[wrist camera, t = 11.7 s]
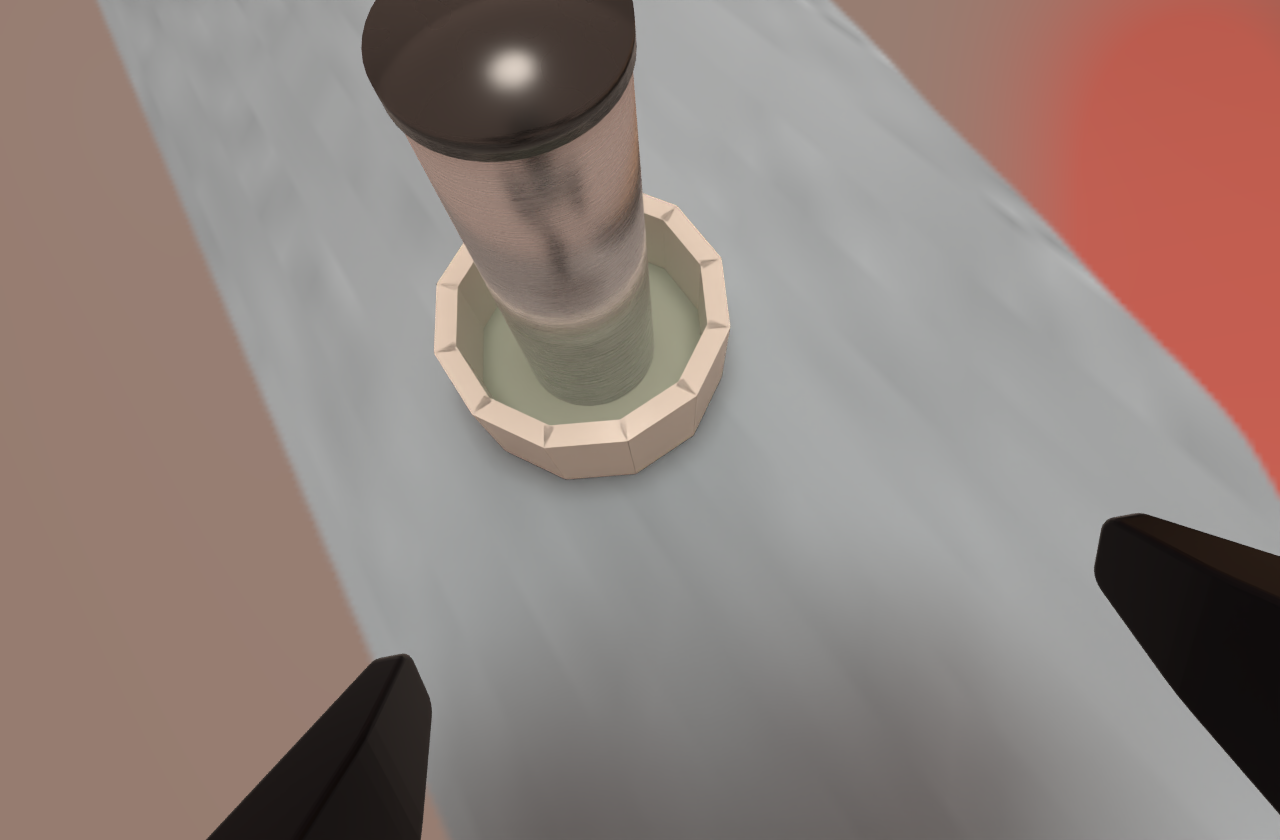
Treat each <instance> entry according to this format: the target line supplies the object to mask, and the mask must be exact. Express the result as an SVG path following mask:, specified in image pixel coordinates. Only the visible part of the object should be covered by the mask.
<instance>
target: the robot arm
mask: <svg viewBox="0 0 1280 840" xmlns="http://www.w3.org/2000/svg"><path fill="white" fill-rule="evenodd" d="M1094 573H1095V578H1096V581H1097V583H1098V585H1099V587H1100V589H1101V591H1102V592H1103V593H1104V595H1105V596H1106V598H1107V599H1108V600H1109V602H1110V603H1111V605H1112V606H1113V607H1114V609H1115V610H1116V611H1117V613H1118V614H1119V616H1120V617H1121V618H1122V620H1123V621H1124V623H1125V624H1126V625H1127V627H1128V628H1129V630H1130V631H1131V632H1132V634H1133V635H1134V637H1135V638H1136V639H1137V641H1138V642H1139V644H1140V645H1141V646H1142V648H1143V649H1144V651H1145V652H1146V653H1147V655H1148V656H1149V657H1150V659H1151V660H1152V662H1153V663H1154V664H1155V666H1156V667H1157V669H1158V670H1159V671H1160V673H1161V674H1162V676H1163V677H1164V678H1165V680H1166V681H1167V682H1168V684H1169V685H1170V686H1171V688H1172V689H1173V690H1174V691H1175V693H1176V694H1177V695H1178V697H1179V698H1180V699H1181V700H1182V701H1183V703H1184V704H1185V705H1186V706H1187V707H1188V709H1189V710H1190V711H1191V712H1192V714H1193V715H1194V716H1195V717H1196V718H1197V719H1198V721H1199V722H1200V723H1201V724H1202V725H1203V726H1204V727H1205V729H1206V730H1207V731H1208V732H1209V733H1210V734H1211V736H1212V737H1213V738H1214V739H1215V740H1216V741H1217V743H1218V744H1219V745H1220V746H1221V747H1222V748H1223V749H1224V751H1225V752H1226V753H1227V754H1228V755H1229V756H1230V758H1231V759H1232V760H1233V761H1234V762H1235V763H1236V765H1237V766H1238V767H1239V768H1240V769H1241V770H1242V771H1243V773H1244V774H1245V775H1246V776H1247V777H1248V778H1249V780H1250V781H1251V782H1252V783H1253V784H1254V785H1255V787H1256V788H1257V789H1258V790H1259V791H1260V792H1261V793H1262V795H1263V796H1264V797H1265V798H1266V799H1267V800H1268V802H1269V803H1270V804H1271V805H1272V806H1273V807H1274V809H1275V810H1276V811H1277V812H1278V813H1279V814H1280V556H1277V555H1274V554H1271V553H1267V552H1264V551H1261V550H1258V549H1255V548H1252V547H1248V546H1245V545H1242V544H1239V543H1236V542H1233V541H1229V540H1226V539H1223V538H1220V537H1217V536H1214V535H1210V534H1207V533H1204V532H1201V531H1198V530H1195V529H1192V528H1188V527H1185V526H1182V525H1179V524H1176V523H1173V522H1169V521H1166V520H1163V519H1160V518H1157V517H1154V516H1150V515H1147V514H1142V513H1135V514H1129V515H1124V516H1119V517H1113V518H1110V519H1108V520H1106V522H1105V523H1104V524H1103V525H1102V528H1101V533H1100V538H1099V544H1098V549H1097V555H1096V560H1095V565H1094ZM431 719H432V708H431V702H430V698H429V695H428V693H427V690H426V688H425V686H424V684H423V681H422V679H421V677H420V675H419V672H418V670H417V668H416V666H415V663H414V661H413V660H412V658H411V657H410V656H409V655H407V654H398V655H393V656H388V657H382V658H379V659H376V660H374V661H373V662H372V663H371V664H370V665H369V666H368V667H367V668H366V669H365V670H364V671H363V672H362V673H361V674H360V675H359V676H358V677H357V678H356V680H355V681H354V682H353V683H352V684H351V685H350V686H349V687H348V688H347V689H346V690H345V691H344V692H343V694H342V695H341V696H340V697H339V698H338V699H337V700H336V701H335V702H334V703H333V704H332V705H331V706H330V707H329V709H328V710H327V711H326V712H325V713H324V714H323V715H322V716H321V717H320V718H319V719H318V720H317V721H316V722H315V723H314V725H313V726H312V727H311V728H310V729H309V730H308V731H307V732H306V733H305V734H304V735H303V737H301V739H300V740H299V741H298V742H297V743H296V744H295V745H294V746H293V747H292V748H291V749H290V750H289V751H288V752H287V754H286V755H285V756H284V757H283V758H282V759H281V760H280V761H279V762H278V763H277V764H276V765H275V767H273V769H272V770H271V771H270V772H269V773H268V774H267V775H266V776H265V777H264V778H263V779H262V780H261V781H260V782H259V784H258V785H257V786H256V787H255V788H254V789H253V790H252V791H251V792H250V793H249V794H248V795H247V796H246V798H245V799H244V800H243V801H242V802H241V803H240V804H239V805H238V806H237V807H236V808H235V809H234V810H233V811H232V812H231V814H230V815H229V816H228V817H227V818H226V819H225V820H224V821H223V822H222V823H221V824H220V825H219V826H218V828H217V829H216V830H215V831H214V832H213V833H212V834H211V835H210V836H209V837H208V838H207V839H206V840H421V832H422V823H423V813H424V801H425V789H426V778H427V766H428V754H429V743H430V731H431Z"/></svg>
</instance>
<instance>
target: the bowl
mask: <svg viewBox="0 0 1280 840" xmlns="http://www.w3.org/2000/svg"><path fill="white" fill-rule="evenodd" d="M643 206H644V218H645V231H646V244H647V257H648V270H649V282H650V295H651V308H652V321H653V333H654V354H653V359H652V362H651V365H650V368H649V370H648V372H647V374H646V375H645V377H644V378H643V380H642V381H641V382H640V383H639V384H638V385H637V387H635V388H634V389H633V390H632V391H631V392H629V393H628V394H626V395H625V396H623V397H621V398H619V399H617V400H615V401H612V402H610V403H606V404H602V405H595V406H582V405H575V404H571V403H568V402H565V401H563V400H560V399H558V398H557V397H555V396H553V395H552V394H551V393H549V392H548V391H547V390H546V389H545V388H544V387H543V386H542V385H541V384H540V382H539V381H538V380H537V378H536V376H535V374H534V373H533V371H532V369H531V367H530V365H529V363H528V361H527V360H526V358H525V356H524V354H523V352H522V350H521V348H520V347H519V345H518V343H517V341H516V339H515V337H514V335H513V334H512V332H511V330H510V328H509V326H508V324H507V322H506V321H505V319H504V317H503V315H502V313H501V311H500V309H499V308H498V306H497V304H496V302H495V300H494V298H493V296H492V295H491V293H490V291H489V289H488V287H487V285H486V283H485V282H484V280H483V278H482V276H481V274H480V272H479V270H478V269H477V267H476V265H475V263H474V261H473V259H472V257H471V256H470V254H469V252H468V250H467V248H466V246H465V244H464V243H463V244H462V246H461V248H460V249H459V251H458V252H457V254H456V255H455V257H454V258H453V260H452V261H451V263H450V264H449V266H448V267H447V269H446V271H445V272H444V274H443V275H442V277H441V278H440V280H439V281H438V283H437V292H436V318H435V344H434V354H435V355H436V357H437V359H438V360H439V362H440V363H441V365H442V367H443V368H444V370H445V371H446V373H447V375H448V376H449V378H450V380H451V381H452V383H453V384H454V386H455V388H456V389H457V391H458V392H459V394H460V396H461V397H462V399H463V400H464V402H465V404H466V405H467V407H468V408H469V410H470V412H471V413H472V415H473V416H474V417H475V418H476V419H477V420H478V421H479V422H480V423H481V425H482V426H483V427H484V428H485V429H486V430H487V431H488V432H489V433H490V434H491V435H492V437H493V438H494V439H495V440H496V441H497V442H498V443H499V444H500V445H501V446H502V448H503V449H504V450H505V451H507V452H509V453H511V454H513V455H515V456H518V457H520V458H522V459H524V460H526V461H528V462H530V463H532V464H534V465H536V466H539V467H541V468H543V469H545V470H547V471H549V472H551V473H553V474H555V475H557V476H559V477H562V478H564V479H578V478H590V477H603V476H615V475H628V474H636V473H638V472H639V471H641V470H642V469H644V468H645V467H647V466H648V465H650V464H651V463H653V462H654V461H656V460H657V459H659V458H660V457H662V456H663V455H665V454H666V453H668V452H669V451H671V450H672V449H674V448H675V447H677V446H678V445H680V444H681V443H683V442H684V441H686V440H687V439H689V438H690V437H692V436H693V435H694V433H695V431H696V429H697V427H698V425H699V423H700V421H701V419H702V417H703V415H704V413H705V411H706V409H707V406H708V404H709V402H710V400H711V398H712V396H713V394H714V392H715V390H716V388H717V386H718V384H719V382H720V379H721V377H722V373H723V367H724V361H725V355H726V349H727V343H728V337H729V332H730V321H729V313H728V306H727V298H726V290H725V282H724V274H723V266H722V259H721V257H720V256H719V255H718V254H717V252H716V251H715V250H714V249H713V248H712V246H711V245H710V244H709V243H708V242H707V241H706V239H705V238H704V237H703V236H702V235H701V233H700V232H699V231H698V230H697V229H696V228H695V226H694V225H693V224H692V223H691V222H690V221H689V219H688V218H687V217H686V216H685V215H684V213H683V212H682V211H681V210H680V209H679V208H678V206H676V205H673V204H671V203H668V202H665V201H663V200H660V199H657V198H655V197H652V196H649V195H646V194H644V193H643Z"/></svg>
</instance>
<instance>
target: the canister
mask: <svg viewBox="0 0 1280 840" xmlns="http://www.w3.org/2000/svg"><path fill="white" fill-rule="evenodd" d="M636 48H637V45H636V31H635V16H634V8H633V1H632V0H376V1H375V2H374V4H373V6H372V8H371V10H370V12H369V14H368V17H367V19H366V22H365V26H364V30H363V35H362V58H363V64H364V67H365V70H366V74H367V76H368V78H369V80H370V82H371V84H372V86H373V88H374V90H375V92H376V93H377V95H378V97H379V99H380V101H381V102H382V104H383V106H384V108H385V110H386V112H387V113H388V115H389V116H390V118H391V119H392V120H393V122H394V123H395V124H396V126H398V127H399V128H400V129H401V130H402V131H403V132H404V133H405V135H406V137H407V139H408V140H409V142H410V144H411V146H412V148H413V150H414V152H415V153H416V155H417V157H418V159H419V161H420V163H421V165H422V166H423V168H424V170H425V172H426V174H427V176H428V178H429V179H430V181H431V183H432V185H433V187H434V189H435V191H436V192H437V194H438V196H439V198H440V200H441V202H442V204H443V205H444V207H445V209H446V211H447V213H448V215H449V217H450V218H451V220H452V222H453V224H454V226H455V228H456V230H457V231H458V233H459V235H460V237H461V239H462V241H463V243H464V244H465V246H466V248H467V250H468V252H469V254H470V256H471V257H472V259H473V261H474V263H475V265H476V267H477V269H478V270H479V272H480V274H481V276H482V278H483V280H484V282H485V283H486V285H487V287H488V289H489V291H490V293H491V295H492V296H493V298H494V300H495V302H496V304H497V306H498V308H499V309H500V311H501V313H502V315H503V317H504V319H505V321H506V322H507V324H508V326H509V328H510V330H511V332H512V334H513V335H514V337H515V339H516V341H517V343H518V345H519V347H520V348H521V350H522V352H523V354H524V356H525V358H526V360H527V361H528V363H529V365H530V367H531V369H532V371H533V373H534V374H535V376H536V378H537V380H538V381H539V382H540V384H541V385H542V386H543V387H544V388H545V389H546V390H547V391H548V392H549V393H551V394H552V395H553V396H555V397H557V398H558V399H560V400H563V401H565V402H568V403H571V404H575V405H582V406H595V405H602V404H606V403H610V402H612V401H615V400H617V399H619V398H621V397H623V396H625V395H626V394H628V393H629V392H631V391H632V390H633V389H634V388H635V387H637V385H638V384H639V383H640V382H641V381H642V380H643V378H644V377H645V375H646V374H647V372H648V370H649V368H650V365H651V362H652V359H653V354H654V333H653V321H652V308H651V295H650V282H649V270H648V257H647V244H646V231H645V218H644V206H643V193H642V180H641V167H640V154H639V142H638V129H637V116H636V103H635V90H634V78H633V70H634V66H635V61H636Z"/></svg>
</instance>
